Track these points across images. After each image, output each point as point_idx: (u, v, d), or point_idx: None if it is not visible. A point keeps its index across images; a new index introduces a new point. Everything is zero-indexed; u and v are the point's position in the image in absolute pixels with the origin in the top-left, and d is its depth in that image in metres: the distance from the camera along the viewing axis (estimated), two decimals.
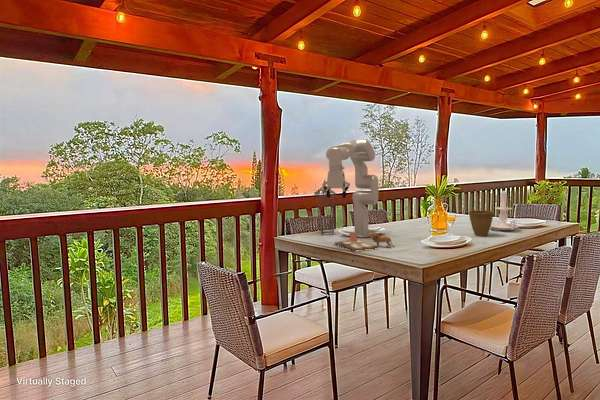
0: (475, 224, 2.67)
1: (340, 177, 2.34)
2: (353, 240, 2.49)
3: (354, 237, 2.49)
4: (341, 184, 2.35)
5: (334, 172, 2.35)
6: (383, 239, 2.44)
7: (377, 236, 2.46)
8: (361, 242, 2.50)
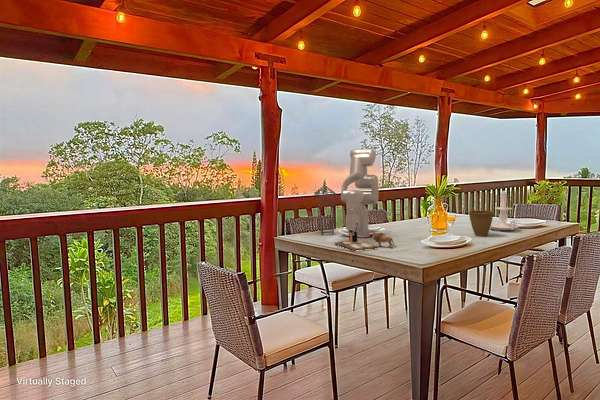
0: (475, 224, 2.67)
1: None
2: None
3: None
4: None
5: None
6: (385, 239, 2.43)
7: (379, 236, 2.45)
8: (361, 242, 2.50)
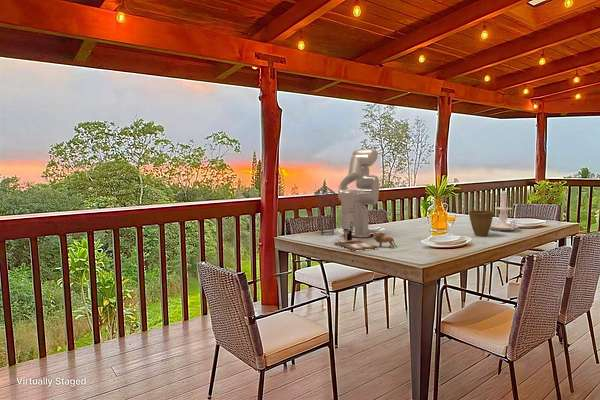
0: (475, 224, 2.67)
1: None
2: None
3: None
4: None
5: None
6: (386, 239, 2.43)
7: (380, 236, 2.45)
8: (356, 240, 2.56)
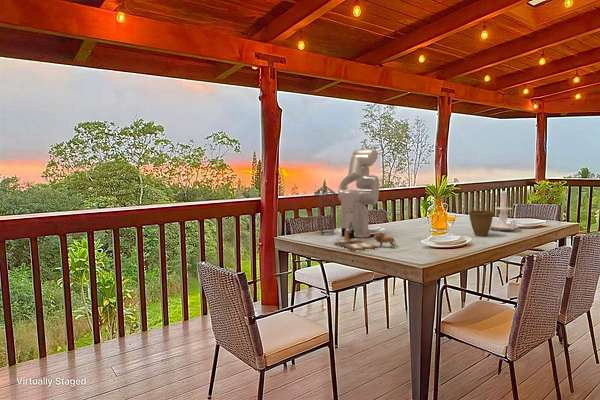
0: (475, 224, 2.67)
1: None
2: (348, 238, 2.55)
3: None
4: None
5: None
6: (387, 239, 2.43)
7: (380, 236, 2.45)
8: (356, 240, 2.56)
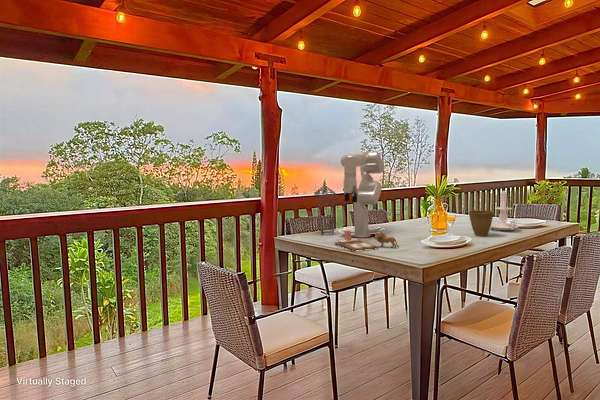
0: (475, 224, 2.67)
1: None
2: (348, 238, 2.55)
3: (349, 235, 2.55)
4: None
5: None
6: (388, 239, 2.42)
7: (382, 236, 2.44)
8: (356, 240, 2.56)
